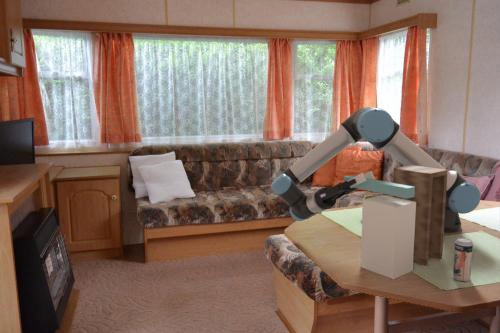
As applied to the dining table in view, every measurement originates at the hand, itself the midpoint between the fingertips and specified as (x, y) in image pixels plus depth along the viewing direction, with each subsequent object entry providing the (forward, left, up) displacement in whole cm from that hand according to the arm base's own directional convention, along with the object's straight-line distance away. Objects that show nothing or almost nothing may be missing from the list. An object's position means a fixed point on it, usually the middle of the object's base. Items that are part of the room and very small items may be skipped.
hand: (368, 176), depth 139 cm
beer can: (-26, +11, -29) cm, 41 cm away
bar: (-2, +3, -4) cm, 5 cm away
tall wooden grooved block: (-17, -6, -29) cm, 34 cm away
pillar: (-6, +5, -29) cm, 30 cm away
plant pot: (-9, -53, -29) cm, 61 cm away
